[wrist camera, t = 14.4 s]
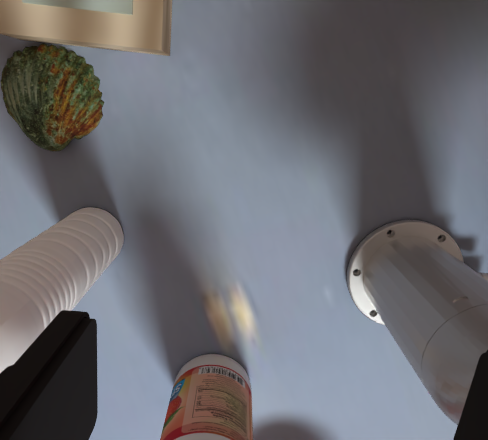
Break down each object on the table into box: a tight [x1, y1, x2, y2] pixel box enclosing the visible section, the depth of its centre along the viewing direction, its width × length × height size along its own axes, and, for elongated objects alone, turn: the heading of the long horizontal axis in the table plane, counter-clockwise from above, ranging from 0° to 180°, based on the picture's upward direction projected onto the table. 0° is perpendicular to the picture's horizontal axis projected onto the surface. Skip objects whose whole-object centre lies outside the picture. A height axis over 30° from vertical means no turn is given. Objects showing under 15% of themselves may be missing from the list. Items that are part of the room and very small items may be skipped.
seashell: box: [1, 43, 104, 151], centre depth 37 cm, size 10×4×10 cm
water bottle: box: [0, 207, 124, 373], centre depth 31 cm, size 9×6×25 cm
